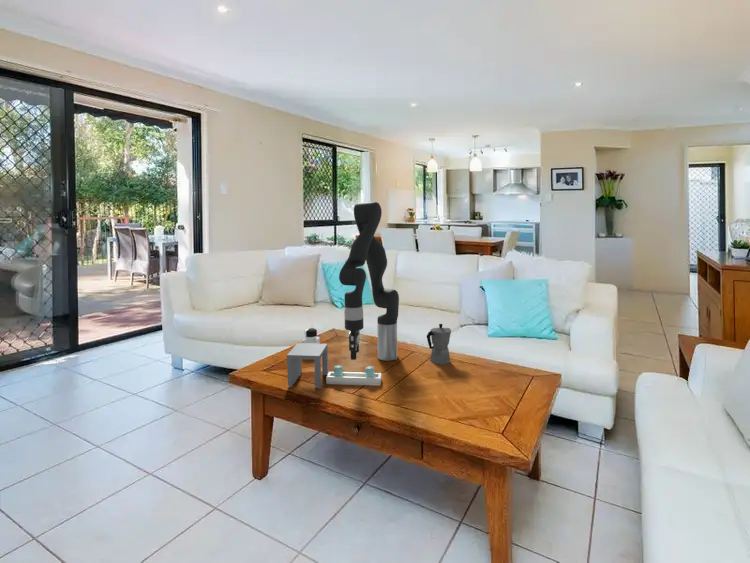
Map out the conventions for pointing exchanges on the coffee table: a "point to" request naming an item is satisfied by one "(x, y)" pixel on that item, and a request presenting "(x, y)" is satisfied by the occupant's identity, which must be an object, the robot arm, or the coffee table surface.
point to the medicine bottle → (311, 336)
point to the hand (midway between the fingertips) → (355, 355)
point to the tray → (354, 377)
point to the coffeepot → (439, 345)
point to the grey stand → (307, 352)
